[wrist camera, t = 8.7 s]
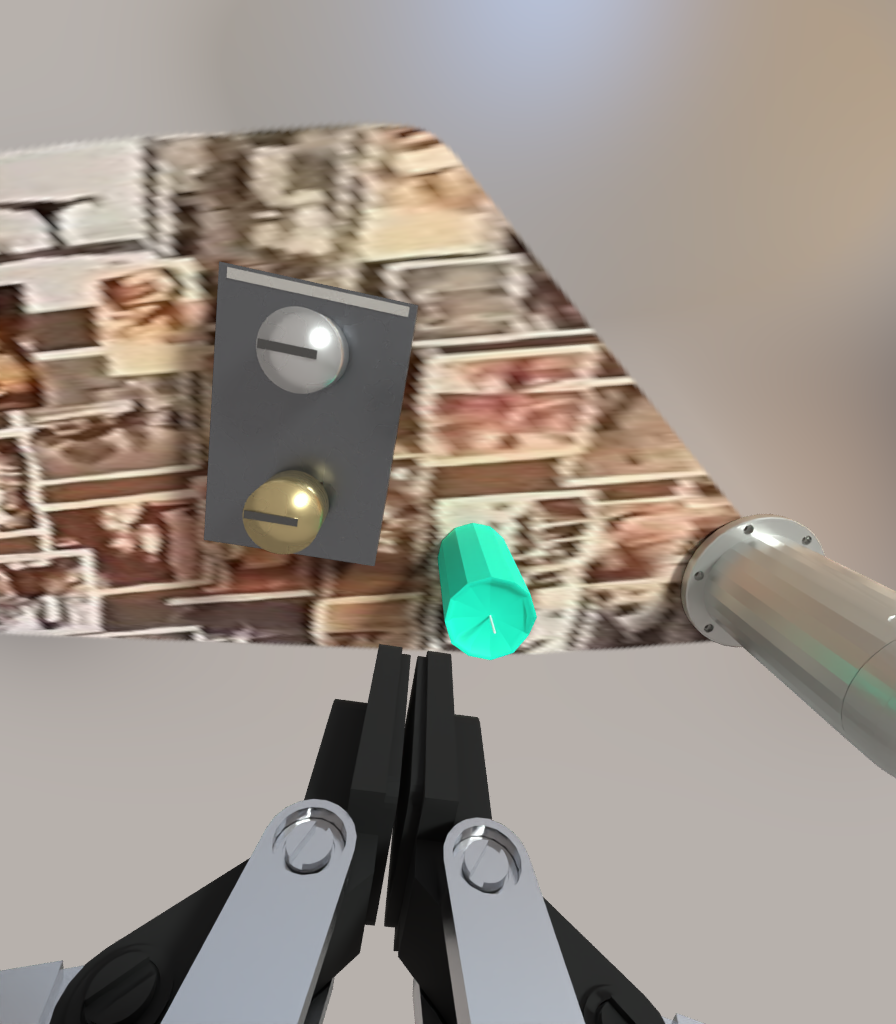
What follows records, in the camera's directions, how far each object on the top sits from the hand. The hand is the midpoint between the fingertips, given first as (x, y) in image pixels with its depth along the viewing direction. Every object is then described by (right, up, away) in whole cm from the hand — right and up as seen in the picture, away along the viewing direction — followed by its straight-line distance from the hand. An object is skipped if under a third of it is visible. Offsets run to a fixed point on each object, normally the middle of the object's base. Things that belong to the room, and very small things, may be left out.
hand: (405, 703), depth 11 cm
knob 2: (-10, +6, +26) cm, 29 cm away
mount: (-9, +11, +26) cm, 30 cm away
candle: (+3, +1, +30) cm, 31 cm away
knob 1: (-8, +16, +23) cm, 29 cm away
